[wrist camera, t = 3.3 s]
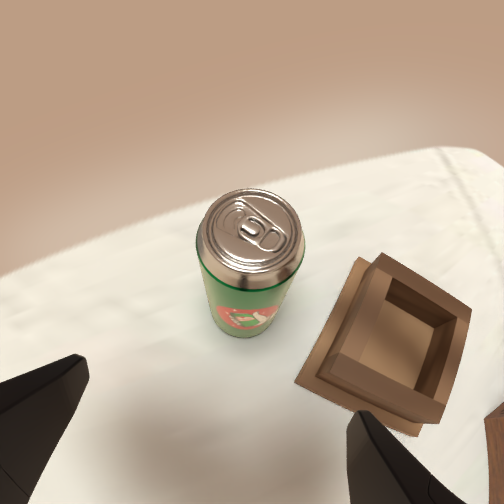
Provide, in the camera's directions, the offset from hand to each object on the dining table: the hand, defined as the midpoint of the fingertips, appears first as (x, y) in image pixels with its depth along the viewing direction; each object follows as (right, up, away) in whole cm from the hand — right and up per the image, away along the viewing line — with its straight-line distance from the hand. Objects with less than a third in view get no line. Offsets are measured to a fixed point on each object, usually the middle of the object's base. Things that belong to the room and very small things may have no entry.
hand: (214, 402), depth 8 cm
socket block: (+13, -4, +14) cm, 19 cm away
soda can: (0, 0, +15) cm, 15 cm away
